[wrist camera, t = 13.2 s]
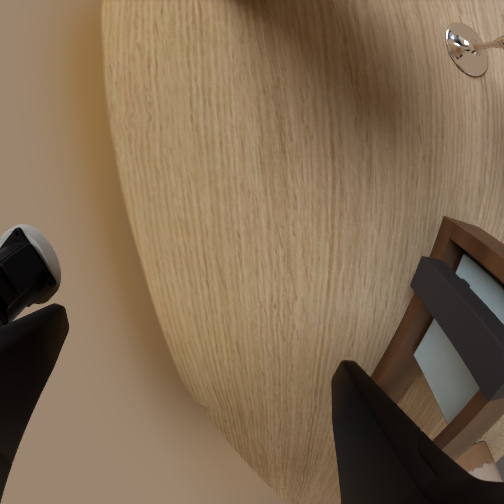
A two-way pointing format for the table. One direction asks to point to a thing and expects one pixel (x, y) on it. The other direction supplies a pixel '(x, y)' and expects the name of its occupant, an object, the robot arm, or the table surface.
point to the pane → (461, 332)
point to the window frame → (417, 324)
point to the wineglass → (469, 48)
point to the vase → (479, 462)
